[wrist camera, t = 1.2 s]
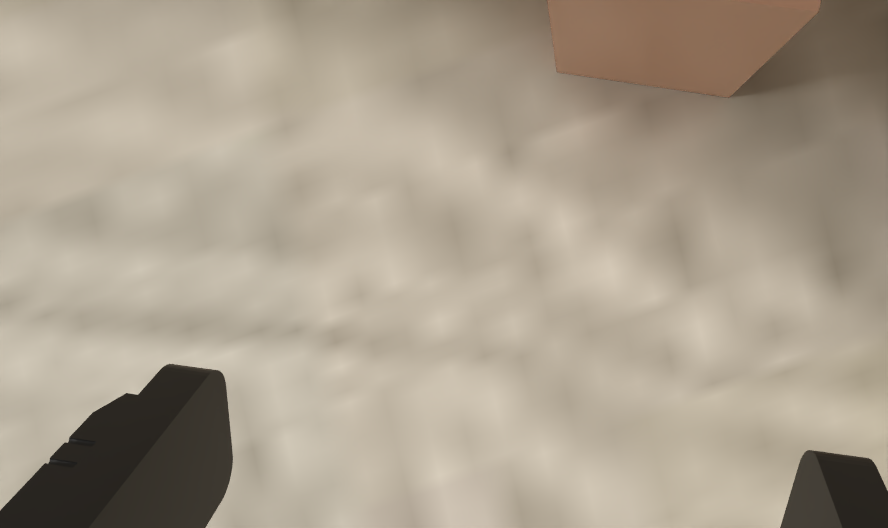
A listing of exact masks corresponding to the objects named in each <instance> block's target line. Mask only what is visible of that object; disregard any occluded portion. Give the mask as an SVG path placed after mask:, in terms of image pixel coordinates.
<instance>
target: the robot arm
mask: <svg viewBox="0 0 888 528" xmlns="http://www.w3.org/2000/svg"><path fill="white" fill-rule="evenodd" d="M232 463H233V454H232V443H231V433H230V422H229V412H228V402H227V391H226V383H225V379H224V376H223V374H222V373H221V372H220V371H218V370H211V369H203V368H196V367H189V366H182V365H174V364H168V365H166V366H164V367H163V368H162V369H161V370H160V371H159V372H158V373H157V374H156V375H155V377H154V378H153V379H152V380H151V381H150V382H149V383H148V384H147V386H146V387H145V388H144V389H143V390H142V391H141V392H140V393H139V394H138V395H135V394H128V393H126V394H124V395H123V396H121V397H119V398H118V399H116V400H114V401H112V402H111V403H109V404H107V405H105V406H104V407H102V408H100V409H98V410H97V411H95V412H93V413H92V414H91V415H90V416H89V417H88V418H87V419H86V421H85V422H84V423H83V424H82V425H81V426H80V427H79V428H78V429H77V430H76V431H75V432H74V433H73V434H72V435H71V436H70V437H69V442H68V443H64V444H63V445H62V446H61V447H60V448H59V449H58V450H57V451H56V452H55V453H54V454H53V455H52V456H51V458H50V462H49V464H46V463H45V464H44V465H43V466H42V467H41V468H40V469H39V470H38V471H37V472H36V473H35V474H34V476H33V477H32V478H31V479H30V480H29V481H28V482H27V483H26V484H25V485H24V486H23V487H22V488H21V489H20V490H19V491H18V492H17V493H16V495H15V496H14V497H13V498H12V499H11V500H10V501H9V502H8V503H7V504H6V505H5V506H4V507H3V508H2V509H1V510H0V528H205V527H206V526H207V524H208V522H209V521H210V519H211V517H212V516H213V514H214V512H215V511H216V509H217V507H218V506H219V504H220V503H221V501H222V499H223V497H224V495H225V493H226V490H227V487H228V484H229V481H230V476H231V471H232ZM780 528H888V491H887V489H886V487H885V485H884V482H883V480H882V478H881V476H880V474H879V472H878V469H877V467H876V465H875V464H874V462H873V461H872V460H871V459H869V458H863V457H856V456H848V455H841V454H834V453H826V452H819V451H812V450H808V451H806V452H805V453H804V455H803V456H802V458H801V460H800V463H799V467H798V470H797V473H796V477H795V480H794V483H793V487H792V490H791V494H790V497H789V500H788V504H787V507H786V510H785V514H784V517H783V521H782V524H781V527H780Z"/></svg>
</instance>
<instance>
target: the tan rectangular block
mask: <svg viewBox="0 0 888 528" xmlns="http://www.w3.org/2000/svg"><path fill="white" fill-rule="evenodd" d="M547 3H548V10H549V17H550V25H551V32H552V39H553V47H554V54H555V61H556V69H557V72H559V73H566V74H573V75H579V76H586V77H593V78H600V79H606V80H613V81H620V82H627V83H634V84H640V85H647V86H654V87H661V88H667V89H674V90H681V91H688V92H694V93H701V94H708V95H715V96H721V97H728V98H729V97H730V96H731V95H732V94H733V93H734V92H736V91H737V90H738V89H739V88H740V87H741V86H742V85H743V84H744V83H745V82H746V81H747V80H748V79H749V78H750V77H751V76H752V75H753V74H754V73H755V72H756V71H757V70H759V69H760V68H761V67H762V66H763V65H764V64H765V63H766V62H767V61H768V60H769V59H770V58H771V57H772V56H773V55H774V54H775V53H776V52H777V51H778V50H779V49H781V48H782V47H783V46H784V45H785V44H786V43H787V42H788V41H789V40H790V39H791V38H792V37H793V36H794V35H795V34H796V33H797V32H798V31H799V30H800V29H801V28H802V27H804V26H805V25H806V24H807V23H808V22H809V21H810V20H811V19H812V18H813V17H814V16H815V15H816V14H817V13H818V12H819V8H820V4H821V0H547Z"/></svg>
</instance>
